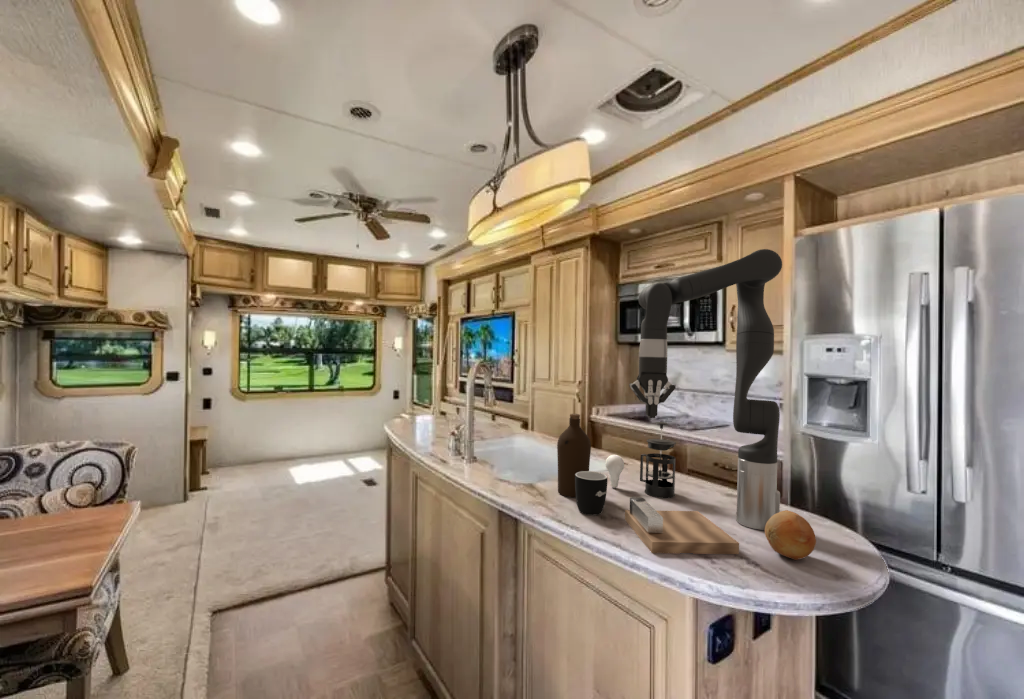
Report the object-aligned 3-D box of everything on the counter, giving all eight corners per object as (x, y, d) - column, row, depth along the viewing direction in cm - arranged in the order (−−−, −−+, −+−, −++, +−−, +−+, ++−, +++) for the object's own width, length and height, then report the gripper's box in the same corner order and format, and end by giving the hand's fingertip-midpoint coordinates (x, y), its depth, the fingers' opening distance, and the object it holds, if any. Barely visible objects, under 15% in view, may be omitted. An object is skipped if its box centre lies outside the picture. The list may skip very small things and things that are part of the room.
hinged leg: (627, 509, 118) (627, 496, 118) (642, 509, 118) (642, 496, 118) (646, 532, 103) (647, 517, 103) (663, 532, 103) (664, 517, 103)
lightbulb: (609, 484, 151) (610, 451, 151) (626, 487, 147) (627, 454, 147) (601, 487, 146) (602, 454, 146) (618, 492, 143) (619, 457, 143)
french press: (681, 493, 143) (683, 422, 143) (671, 501, 135) (673, 426, 135) (645, 486, 150) (647, 418, 150) (634, 492, 142) (637, 421, 142)
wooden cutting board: (697, 520, 120) (697, 511, 120) (738, 554, 100) (739, 542, 100) (624, 519, 119) (625, 510, 119) (651, 553, 99) (652, 542, 99)
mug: (596, 519, 118) (597, 481, 118) (568, 511, 124) (569, 475, 124) (617, 508, 127) (618, 473, 127) (590, 501, 133) (591, 467, 133)
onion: (754, 551, 101) (755, 507, 102) (782, 544, 106) (783, 502, 106) (795, 570, 93) (797, 522, 93) (825, 562, 97) (826, 517, 97)
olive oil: (590, 499, 134) (593, 417, 134) (555, 497, 135) (558, 415, 135) (588, 488, 145) (590, 412, 145) (555, 487, 146) (558, 411, 146)
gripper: (634, 355, 119) (632, 419, 119) (682, 356, 120) (680, 420, 120) (625, 355, 127) (624, 415, 127) (670, 356, 127) (669, 416, 127)
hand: (651, 417), depth 123 cm, fingers closed
